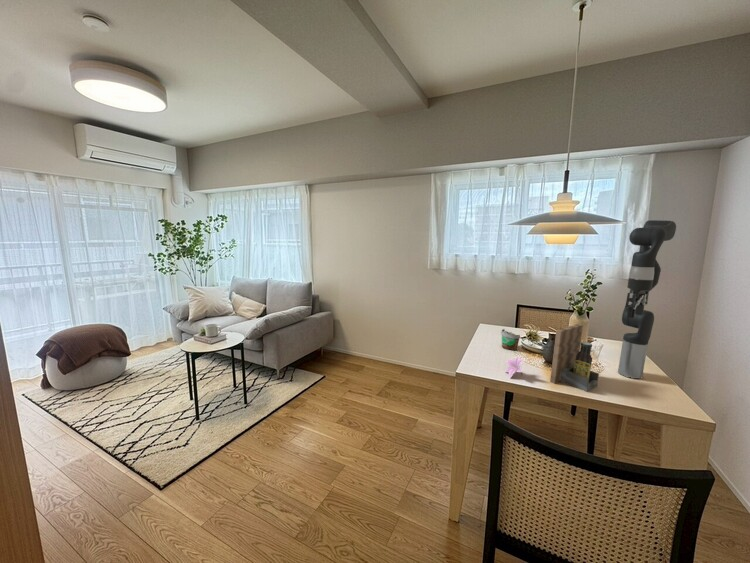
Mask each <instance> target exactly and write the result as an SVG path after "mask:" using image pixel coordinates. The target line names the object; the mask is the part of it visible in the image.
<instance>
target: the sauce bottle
mask: <svg viewBox="0 0 750 563" xmlns="http://www.w3.org/2000/svg"><path fill="white" fill-rule="evenodd" d="M592 346H593V344H592V343H591V342H588V341H581V343H580V351H579V353H578V354H577V355H576V360H575V364H574V369H573V373H576V374H579V375H581V376H584V377H587V378H589V375H590V371H592V370H591V369H592V363H593V358H592V356H591V350H592Z"/></svg>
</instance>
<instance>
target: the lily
mask: <svg viewBox="0 0 750 563" xmlns="http://www.w3.org/2000/svg"><path fill="white" fill-rule="evenodd" d="M525 360H526V358H525V357H522V358H520V355H519V354H517V355H516V356H515V358H514V359H512V358H506V364H507V366H508V367H507V368H506V369H505V371H504V373H508V378H509V379H511V378H512V376H514V373H515V372H517V373H520V374H521V375H522V376H523V370H522V367H521V365H522V363H523V362H524V361H525Z"/></svg>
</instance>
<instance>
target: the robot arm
mask: <svg viewBox="0 0 750 563" xmlns="http://www.w3.org/2000/svg"><path fill="white" fill-rule="evenodd" d="M676 224H677V223H676V222H675V221H674V220H673V221H672V220H660V219H659V220H656V219H655V220H653V219H652V220H647V221H646V222H644V224H643V227H635V228H634V229H632V231H631V232H629V237H628V239H629V242H630V244H632V245H634V246H638V247H639V249H638V251H635V252H634V253H633V254H632V259H631V265H630V269H629V272H628V273H629V274H628V280H627V289H629V292H628V293H627V295H626V301H625V306H624V309H623V311H622V315H621V322H622V324H623V325H624V326H627V327H629V328H630V327H631V328H634V329H635V328H636V329H637V332H627V333H626V332H625V333H624V334H623V337H622V343H621V350H620V355H619V363H618V367H617V373H618V374H619V373H620V374H619V375H620V376H623V375H624V376H623V377H625V376H627V377H626V378H628V377H631V378H630V379H633V378H641V377H642V378H643V374H644V369H645V364H646V359H647V358H646V357H647V351H648V346H649V341H650V339H651V334H652V330H653V326H654V324H655V323H654V322H655V314H654V312H652V311H650V310H645V307H646V305H648V301H649V293H650V292H651V291H652V290H653V289H654V288H656V286H657V285H658V283H659V279H660V275H661V271H662V269H661V266H660V264H659V262H658V261H657V255H658V253H659V251H660V249H661V247H662V245H663V243H664V242H666V241H671V240H672V239H673V238H674V236H675V234H676V231H677V225H676ZM642 378H641V379H642Z"/></svg>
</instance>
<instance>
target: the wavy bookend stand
mask: <svg viewBox="0 0 750 563" xmlns="http://www.w3.org/2000/svg"><path fill="white" fill-rule="evenodd" d="M583 327H584V325H583V324H579V323H578V324H574V325H570V326H567V327H564V328H559V329H556V330H555V339H554V345H553V356H552V363H551V364H552V365H551V373H550V379H549V380H550V381H549V382H550V383H551V384H554V385H555V384H558V383H559V382H562V383H564V384H566V385H568V386H571V387H574V388H577V389H579V390H581V391H583V390H584V391H583V392H589V391H591V390H592V388H593V389H595V388H596V387H598V382H599V376H600V373H598V372H595V371H593V370H590V375H589V378H587V377H584V376H581V375H579V374H576V373H573V369H574V364H575V360H576V355H577V354H578V353H579V352H580V350H581V342H582V333H583ZM590 389H591V390H590Z"/></svg>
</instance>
